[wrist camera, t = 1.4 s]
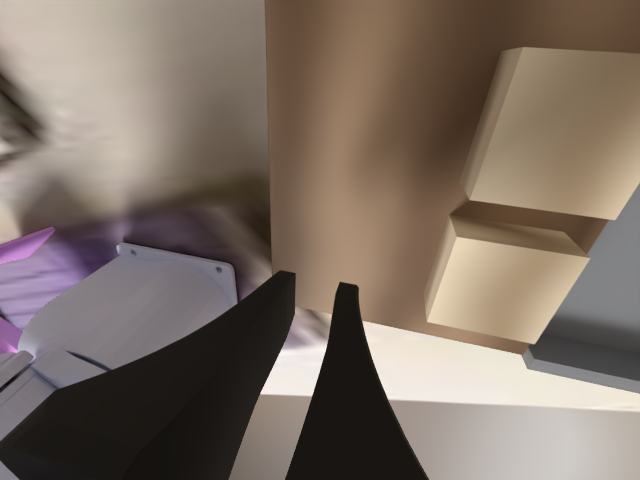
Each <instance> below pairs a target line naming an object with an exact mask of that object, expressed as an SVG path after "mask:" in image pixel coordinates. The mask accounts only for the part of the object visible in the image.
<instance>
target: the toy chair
mask: <svg viewBox="0 0 640 480" xmlns="http://www.w3.org/2000/svg"><path fill="white" fill-rule="evenodd" d="M55 230H56V229H55V228H54V227H49V228H46V229H43V230H40V231H37V232H34V233H31V234H29V235H26V236H23V237H20V238H17V239H14V240H12V241H9V242H6V243H3V244H1V245H0V264H2V263H5V262H10V261H14V260H20V259H25V258H28V257H29V256H30V255H31V254H32V253H33V252H34V251H35V250H36V249H37V248H38V247H39V246H40V245H41V244H42V243H43V242H44V241H45V240H46V239H47V238H48V237H49V236H51V235H52V234H53V233H54V231H55ZM22 333H23V331H21V330H20V329H18V328H17V327H15V326H13V325H12V324H10V323H9V322H7V321H5V320H4V319H3V318H1V317H0V354H1V353H11V352H15V353H17V350H18V343H19V340H20V337H21V335H22Z"/></svg>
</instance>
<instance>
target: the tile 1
mask: <svg viewBox="0 0 640 480" xmlns="http://www.w3.org/2000/svg"><path fill="white" fill-rule="evenodd" d="M589 260H590V257H589V256H588V255H587V254H586V253H585V252H584V251H583V250H582V249H581V248H580V247H579V246H578V245H577V244H576V243H575V242H574V241H573V240H572V239H571V238H570V237H569V236H567V235H566V234H565V233H564V232H562V231H555V230H548V229H541V228H535V227H528V226H521V225H514V224H508V223H501V222H494V221H487V220H481V219H474V218H467V217H460V216H454V215H449V217H448V220H447V223H446V226H445V229H444V232H443V235H442V239H441V242H440V245H439V248H438V251H437V254H436V257H435V260H434V264H433V267H432V270H431V273H430V276H429V279H428V282H427V285H426V289H425V292H424V300H425V308H426V317H427V322H430V323H434V324H439V325H444V326H449V327H454V328H458V329H463V330H468V331H473V332H478V333H483V334H487V335H492V336H497V337H502V338H507V339H511V340H516V341H521V342H526V343H531V344H535V343H536V342H537V340H538V339H539V337H540V336H541V334H542V332H543V331H544V329H545V328H546V326H547V325H548V323H549V322H550V320H551V319H552V317H553V315H554V314H555V312H556V311H557V309H558V308H559V306H560V305H561V303H562V302H563V300H564V299H565V297H566V295H567V294H568V292H569V291H570V289H571V288H572V286H573V285H574V283H575V282H576V280H577V279H578V277H579V275H580V274H581V272H582V271H583V269H584V268H585V266H586V265H587V263H588V262H589Z"/></svg>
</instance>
